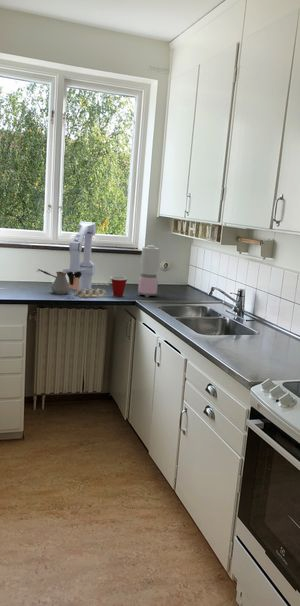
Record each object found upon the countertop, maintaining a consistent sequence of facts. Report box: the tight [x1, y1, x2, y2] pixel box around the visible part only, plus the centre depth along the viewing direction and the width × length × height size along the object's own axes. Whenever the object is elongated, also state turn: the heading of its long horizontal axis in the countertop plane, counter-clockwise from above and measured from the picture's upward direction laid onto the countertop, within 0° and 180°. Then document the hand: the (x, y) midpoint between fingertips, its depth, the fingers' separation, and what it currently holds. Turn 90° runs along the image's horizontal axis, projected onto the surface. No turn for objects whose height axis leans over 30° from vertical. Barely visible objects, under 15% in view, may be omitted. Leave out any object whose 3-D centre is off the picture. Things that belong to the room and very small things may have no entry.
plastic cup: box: [110, 275, 128, 298], centre depth 316 cm, size 11×11×12 cm
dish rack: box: [74, 287, 108, 299], centre depth 311 cm, size 11×17×4 cm, turn 128°
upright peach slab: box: [68, 276, 80, 291], centre depth 302 cm, size 8×2×7 cm, turn 38°
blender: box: [137, 244, 160, 298], centre depth 326 cm, size 16×12×32 cm
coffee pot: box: [37, 268, 71, 295], centre depth 307 cm, size 21×12×15 cm, turn 124°
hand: (73, 284), depth 302 cm, fingers closed on upright peach slab, 2 cm apart
